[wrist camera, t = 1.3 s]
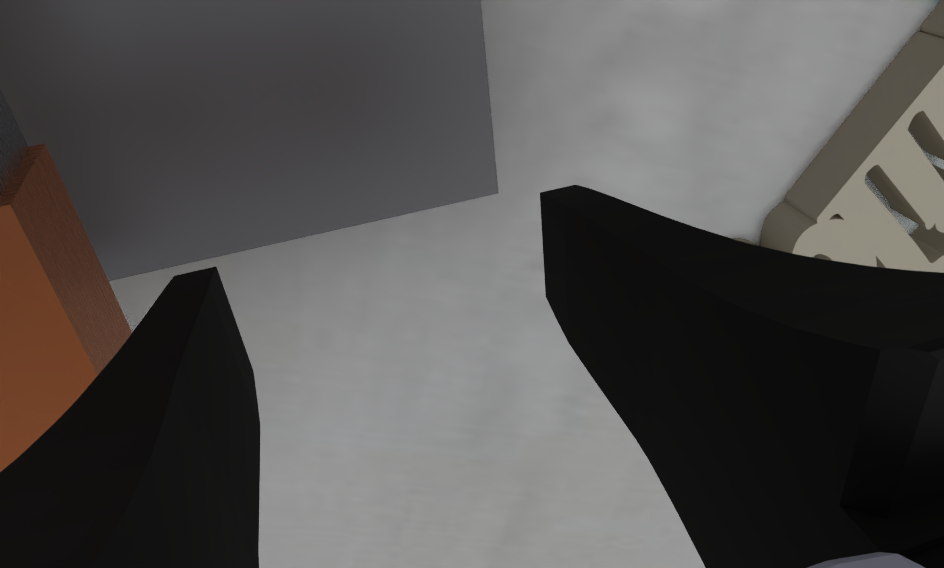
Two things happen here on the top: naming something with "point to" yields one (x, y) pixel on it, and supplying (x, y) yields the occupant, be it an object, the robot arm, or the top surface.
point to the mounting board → (248, 116)
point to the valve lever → (46, 296)
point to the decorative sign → (877, 172)
